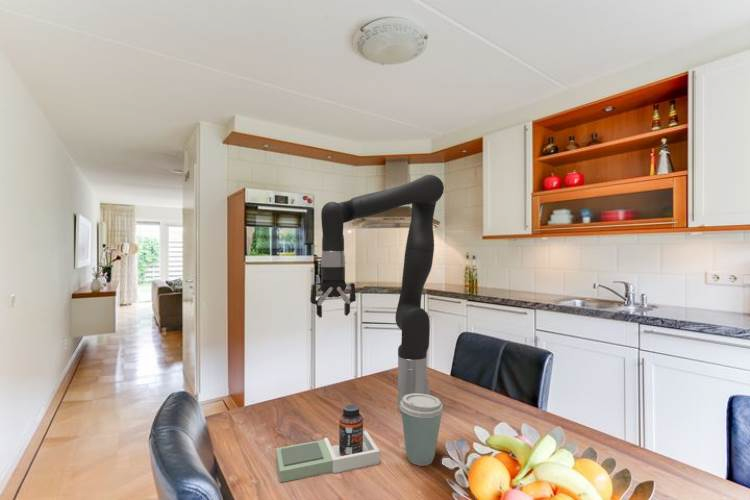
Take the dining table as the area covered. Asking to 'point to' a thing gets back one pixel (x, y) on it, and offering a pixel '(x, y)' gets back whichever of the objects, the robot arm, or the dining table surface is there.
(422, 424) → the disposable coffee cup
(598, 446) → the dining table surface
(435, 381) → the dining table surface
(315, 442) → the green rectangular block
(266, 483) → the dining table surface
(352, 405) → the supplement bottle
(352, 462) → the chute bracket
